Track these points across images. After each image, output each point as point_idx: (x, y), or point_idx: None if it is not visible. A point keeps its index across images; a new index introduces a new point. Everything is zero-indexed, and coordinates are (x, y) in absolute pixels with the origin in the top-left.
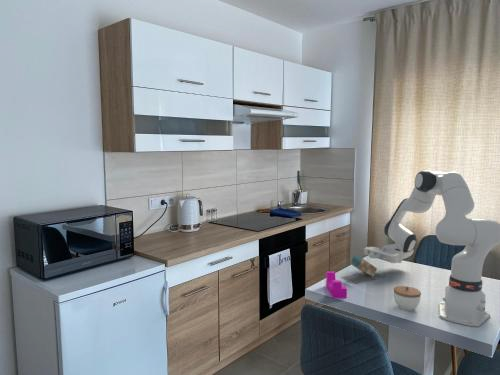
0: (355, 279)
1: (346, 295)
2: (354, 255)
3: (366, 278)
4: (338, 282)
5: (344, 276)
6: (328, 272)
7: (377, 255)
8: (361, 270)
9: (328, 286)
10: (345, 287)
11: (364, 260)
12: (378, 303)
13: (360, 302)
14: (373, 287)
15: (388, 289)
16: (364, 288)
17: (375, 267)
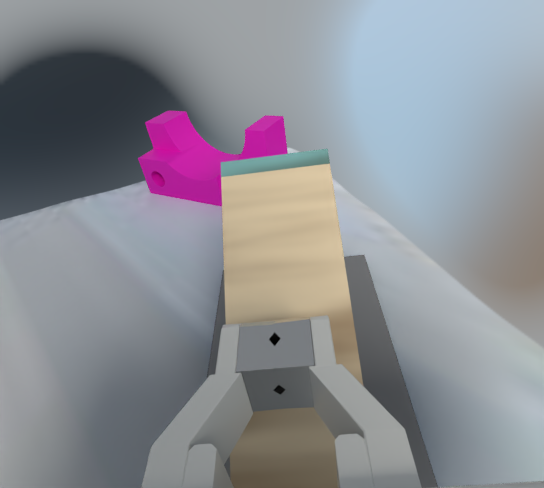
0: None
1: (147, 183)
2: (323, 151)
3: None
4: (154, 118)
5: (368, 278)
6: (266, 117)
7: (187, 413)
8: None
9: None
10: (150, 158)
11: (224, 221)
12: (22, 244)
13: (89, 207)
14: (123, 332)
15: (20, 395)
16: (156, 283)
17: (231, 467)
